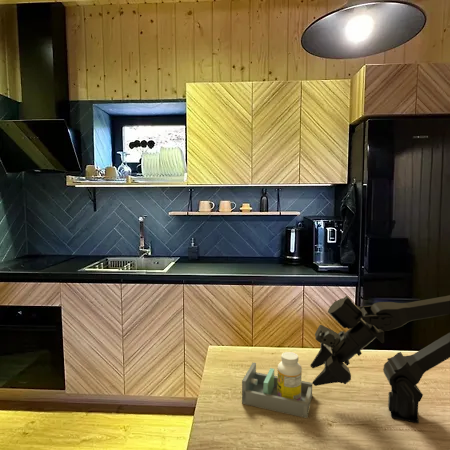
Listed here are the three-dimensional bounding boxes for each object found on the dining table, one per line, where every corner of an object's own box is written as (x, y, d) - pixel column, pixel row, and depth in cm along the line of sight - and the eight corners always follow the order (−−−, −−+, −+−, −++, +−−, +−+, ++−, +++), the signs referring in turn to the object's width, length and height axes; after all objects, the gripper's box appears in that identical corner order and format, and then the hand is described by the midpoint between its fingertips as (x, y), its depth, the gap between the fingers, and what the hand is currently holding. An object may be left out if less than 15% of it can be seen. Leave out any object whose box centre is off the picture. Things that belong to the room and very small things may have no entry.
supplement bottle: (277, 390, 104) (278, 349, 102) (300, 393, 102) (301, 351, 101) (276, 404, 97) (277, 359, 96) (301, 407, 96) (302, 362, 95)
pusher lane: (312, 395, 103) (312, 373, 102) (307, 418, 93) (307, 393, 92) (252, 383, 109) (252, 362, 108) (241, 403, 99) (242, 380, 98)
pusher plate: (274, 386, 105) (274, 368, 105) (267, 402, 98) (267, 383, 97) (270, 385, 106) (270, 368, 105) (263, 401, 98) (263, 382, 97)
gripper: (329, 306, 104) (291, 340, 107) (338, 331, 86) (291, 371, 89) (356, 333, 104) (317, 366, 107) (371, 364, 86) (323, 403, 89)
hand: (312, 375), depth 98 cm, fingers open, 9 cm apart
